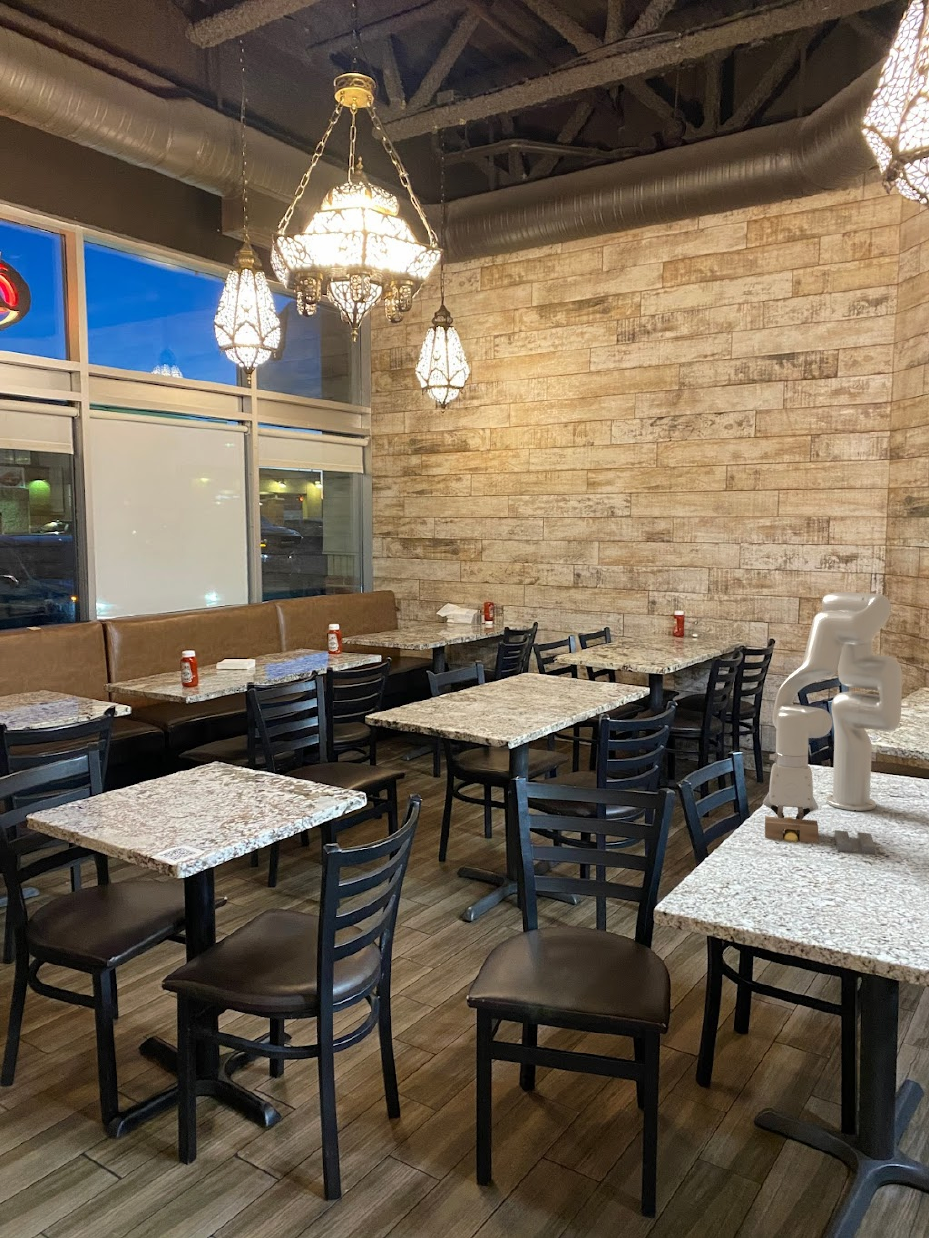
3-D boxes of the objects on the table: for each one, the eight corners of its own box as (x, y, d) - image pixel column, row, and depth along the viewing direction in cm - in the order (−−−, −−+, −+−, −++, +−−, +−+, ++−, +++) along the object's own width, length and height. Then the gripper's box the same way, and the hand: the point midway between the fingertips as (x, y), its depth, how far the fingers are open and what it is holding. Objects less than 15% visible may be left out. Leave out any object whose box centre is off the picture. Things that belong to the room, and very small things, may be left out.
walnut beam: (764, 835, 219) (765, 816, 218) (816, 840, 215) (817, 820, 214) (764, 842, 214) (765, 822, 213) (817, 847, 210) (818, 826, 210)
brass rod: (783, 827, 225) (783, 816, 225) (795, 828, 224) (795, 817, 224) (784, 845, 212) (784, 833, 211) (798, 846, 211) (798, 834, 210)
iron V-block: (834, 842, 213) (834, 830, 213) (870, 845, 211) (870, 833, 211) (837, 856, 204) (838, 843, 204) (875, 859, 201) (875, 847, 201)
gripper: (757, 761, 218) (755, 833, 219) (828, 766, 213) (825, 840, 214) (757, 754, 225) (755, 824, 226) (825, 759, 220) (823, 830, 221)
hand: (789, 831), depth 220 cm, fingers closed on brass rod, 3 cm apart
